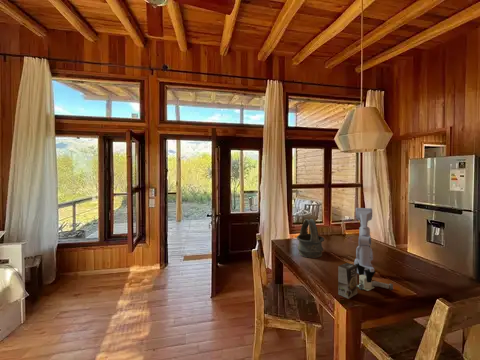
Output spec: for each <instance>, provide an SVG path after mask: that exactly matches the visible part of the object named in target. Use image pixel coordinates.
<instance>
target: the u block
mask: <svg viewBox="0 0 480 360" xmlns="http://www.w3.org/2000/svg"><path fill="white" fill-rule="evenodd" d="M358 275H359V274H358ZM358 277H359V278H358V279H359V283H361V284H363V288H364V289H367V288H372V287H373V286H372V281H373V280H372V281H371V282H367V279H366V275H359V276H358ZM359 283H358V284H359ZM364 289H363V290H364Z"/></svg>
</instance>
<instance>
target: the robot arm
mask: <svg viewBox="0 0 480 360" xmlns="http://www.w3.org/2000/svg"><path fill="white" fill-rule="evenodd" d="M372 218H373V208H372V207H367V208H365V207H355V219H356V220H357V221H359V223H360V227H358V229H359V230H358V231H359V234H358V235H359V236H358V246H357V247H356V249H355V259H354V261H353V262H354V263H353V265H357V275H366V279H367V282H371V281H373V277H374V275H375V274H376V270H375V268H374V267H373V263H371V262H372V261H373V260H374V253H373V249H372V247H371V246H372V238H371V231H370V230H371V229H370V227H369V225H368V223H369V221H372Z"/></svg>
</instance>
